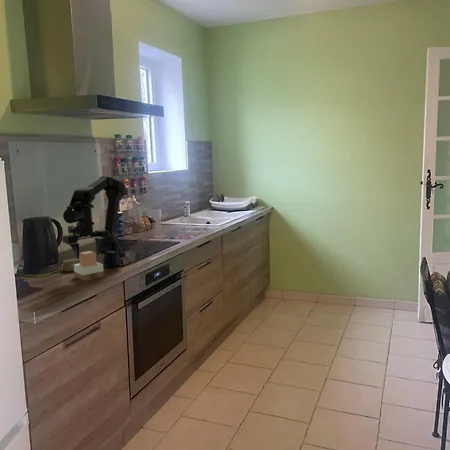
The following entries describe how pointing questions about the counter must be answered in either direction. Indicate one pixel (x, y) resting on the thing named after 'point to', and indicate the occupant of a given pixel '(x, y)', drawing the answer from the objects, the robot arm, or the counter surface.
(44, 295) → the counter surface
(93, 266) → the tower top
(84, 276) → the tower bottom
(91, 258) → the cube
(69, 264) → the stone block
